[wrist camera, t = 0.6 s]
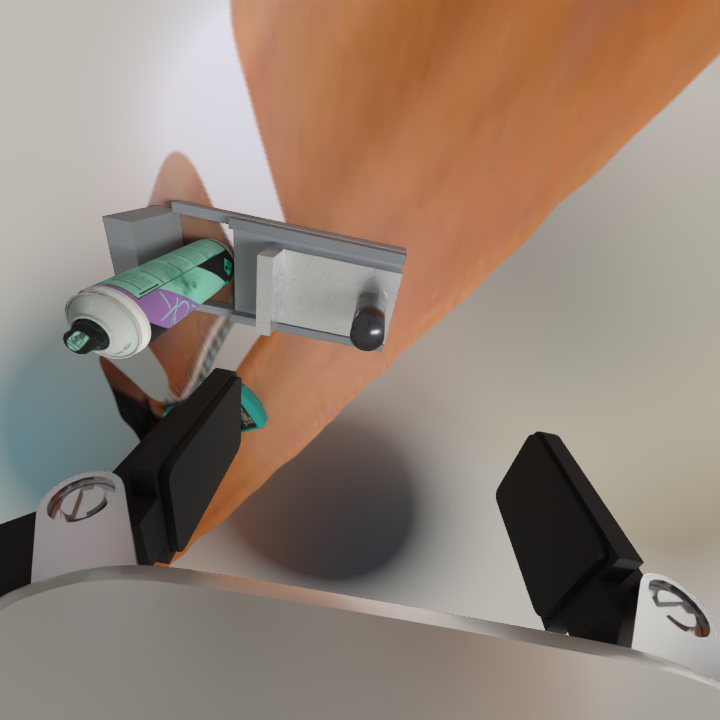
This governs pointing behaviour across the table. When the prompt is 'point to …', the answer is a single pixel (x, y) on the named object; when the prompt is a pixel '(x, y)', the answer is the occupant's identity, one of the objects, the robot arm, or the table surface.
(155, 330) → the spray can
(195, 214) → the vise frame
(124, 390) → the table surface
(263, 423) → the digital multimeter
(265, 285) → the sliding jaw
